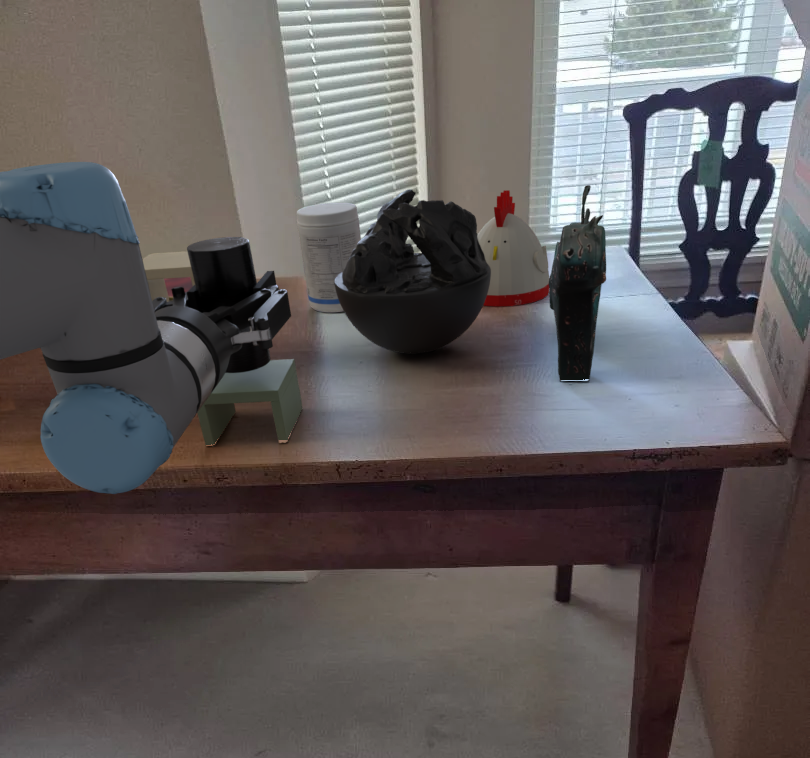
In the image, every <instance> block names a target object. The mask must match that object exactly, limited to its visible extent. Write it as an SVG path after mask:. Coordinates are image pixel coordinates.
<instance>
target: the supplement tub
mask: <svg viewBox="0 0 810 758" xmlns="http://www.w3.org/2000/svg"><path fill="white" fill-rule="evenodd" d="M359 218H360V217H359V213H358V208H357V205H356V204H355V203H351V202H342V201H340V202H325V203H323V202H322V203H316V204H312V205H307V206H304V207H301V208H299V209H298V210H296V224H297V225H296V226H297V231H298V241H299V246H300V251H301V253H300V254H301V259H302V266H303V271H304V273H303V274H304V278H305V284H306V292H307V299H308V305H309V306H310V307H311V308H312V309H313V310H314V311H317V312H320V313H342V312H344V311H343V309H342V307H341V304H340V302H339V299H338V297H337V293H336V289H335V284H334V282H335V278H336V277H337V276H338V275H339V274H340V273H341V272H343V271H344V269H345V267H346V264H347V262H348V260H349V258H350V255H351V253H352V251H353V249H355V248H356V246H357V243H358V242H359V241H360V240H361V239H362V237H361V227H360V226H361V225H360V219H359Z"/></svg>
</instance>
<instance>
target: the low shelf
mask: <svg viewBox="0 0 810 758" xmlns="http://www.w3.org/2000/svg"><path fill="white" fill-rule="evenodd" d="M295 360H296V359H295V358H290V359H289V358H287V359H271V360H270V362H269V363H268V364H266V365H265V366H263V367H261V368H258V369H256V370H252V371H248V372H242V373H225V374H224V376H223V378H222V379H221V380H220V382H219V383H218V385H217V386H216V388H215V389H214V390H213V392H212V393H211V394H210V395H209V397H208V398H207V400H206V401H205V402H204V404H203V405H202V407H201V408H200V409H199V411H198V412H197V413H196V415H197V417H198V421H199V425H200V430H201V433H202V438H203V442H204V445H205V446H206V445H211V444H212V445H213V444H215V442H216V441H217V439H218V438H219V437H220V435H221V434H222V435H223V433H224V432H225V430H226V429H227V427H228V425H229V424H230V422H231V420H232V419H233V417H234V416H235V414H236V412H237V409H236V406H235V404H246V403H247V404H248V403H269V402H270V407H271V410H272V411H271V412H272V415H273V421H274V426H275V431H276V432H275V433H276V437H277V441H278V440H288V437H289V435H290V433H291V431H292V429H293V427H294V425H295V423H296V421H297V422H298V420H297V418H298V417H299V418H300V416H301V413H302V411H303V409H304V407H303V401H302V396H301V389H300V384H299V377H298V372H297V366H296V361H295ZM302 408H303V409H302ZM301 410H302V411H301ZM300 412H301V413H300ZM299 415H300V416H299ZM232 416H233V417H232ZM231 418H232V419H231ZM299 418H298V419H299ZM229 421H230V422H229ZM228 423H229V424H228ZM227 424H228V425H227ZM296 424H297V423H296ZM226 426H227V427H226ZM295 426H296V425H295ZM225 428H226V429H225ZM294 428H295V427H294ZM224 429H225V430H224ZM223 431H224V432H223ZM222 432H223V433H222ZM222 435H221V436H222ZM220 438H221V437H220ZM220 438H219V439H220Z"/></svg>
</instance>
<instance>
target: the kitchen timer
mask: <svg viewBox="0 0 810 758" xmlns="http://www.w3.org/2000/svg"><path fill="white" fill-rule="evenodd" d="M515 211H516V202H513V196H511V191H510V190H506V189H505V190H503V191H502V192H500V195H497V196H496V206H494V207H493V212H494V216H493V217H492V218H491V219H489V220H488V221H487V222H486V223H485V224H484V225H483V227H481V229H480V230H479V231H478V232H477V237H478V241H479V244H480V246H481V248H482V251H483V253H484V256H485V260H486V262H487V264H488V265H489V266H490V269H491V279H490V286H489V290H488V294H487V297H486V299H485V302H484V305H483V307H497V308H498V307H513V306H521V305H522V306H523V305H527V304H531V303H535V302H538V301H540V300H543V299H545V298H546V297H547V296H549V294H548V293H549V291H550V289H549V278H550V271H549V260H548V253H547V246H546V245H543V246H542V244H541V242H540V240H539V238H538V236H537V235H536V233H535V232H534V231H533V229H532V228H531V227H530V226H529V224H528V223H527V222H526V221H525V220H523V219H522V218H520V217H519V216H517V215H515ZM544 297H545V298H544Z"/></svg>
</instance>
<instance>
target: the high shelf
mask: <svg viewBox="0 0 810 758" xmlns="http://www.w3.org/2000/svg"><path fill="white" fill-rule="evenodd" d="M142 260H143V264H144V268H145V273H146V277H147V281H148V286H149V290H150V294H151V299H152V301H153V300H154V299H156V298H157V297H164V298H166V301H167V302H169V297H168V293H167V289H166V285H165V281H164V279H168V278H183V277H191V281H192V285H193V286H194V285H195V282H194V278H193V273H192V269H191V265H190V260H189V256H188V252H187V250H184V251H169V252H156V253H149V254H148V255H146V256H145V257H142Z"/></svg>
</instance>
